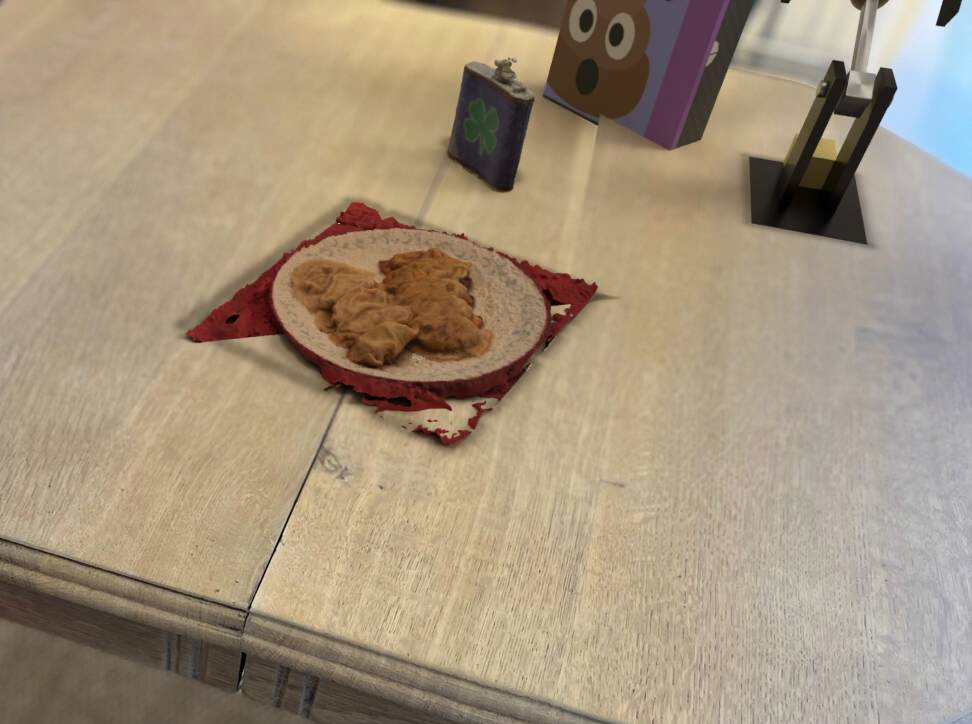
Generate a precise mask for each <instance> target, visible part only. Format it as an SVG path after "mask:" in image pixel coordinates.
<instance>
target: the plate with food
mask: <svg viewBox="0 0 972 724" xmlns="http://www.w3.org/2000/svg"><path fill="white" fill-rule="evenodd" d="M338 223H340V224H338ZM370 230H371V231H370ZM598 288H599V285H597V283H596V281H593V282H592V283H591V284H588V283H587V282H586V281H585V279H584V278H572V277H571V274H569V273H567V272H562V273H561V272H554V273H553V272H551V271H550V270H548V269H543V268H542V267H541V266H540V265H539V264H535V265H534V266H533V265H531V264H530V263H529V261H528V260H527V259H524V260H522V261H521V262H519V261H518V260H517V258H516V257H511V256H510V255H509V254H507V253H506V254H505V253H504V252H502V251H498V250H497V251H496V250H495V249H494V247H492V246H490V247H489V248H488V247H485V246H484V247H483V246H482V247H481V245H480V244H478V243H476V242H475V241H473V242H472V241H470V240H469V237H467V236H465V232H462V233H461V234H460V233H458V234H457V233H452V234H449V233H448V232H447V231H442V232H440V231H438V230H435V229H432V228H429V230H428V229H424V228H416V226H415V225H414V224H413V225H411V226H410V225H408V224H404V223H400V222H399V221H398V220H397V219H396V218H395V217H394V216H389V217H387V218H384V219H382V217H381V214H380V213H379V211H378V210H377V208H376V209H375V208H374V207H369V206H368V205H366V204H365V203H364V202H362V201H361V202H359V201H351V202H350V203H349V205H348V206H347V208H346V210H345V211H342V210H341V211H340V212H339V216H337V217H336V218H335V222H334V223H333V224H331V225H330V226H328V227H326V228H325V229H324V230H323V231H321V232H320V233H319V234H318V235H315V237H314V238H312V239H311V238H309V239H303V240H302V241H301V242H300V243H299V244H298V245H297V247H296V248H295V249H292V250H291V252H290V253H289V252H286V251H285V252H283V254H282V257H281V258H280V259H279V260H277V261H276V262H275V263H274V264H273V265H272V266H271V267H270V268H268V269H266V270H265V271H264V272H262V274H261V275H259V276H258V277H257V279H255V280H254V281H253V282H251V283H247V284H245V286H244V287H241V288H239V289H238V290H237V291H236V292H235V293H234V294H233V296H232V297H231V299H229V300H227V301H225V302H224V303H222V304H221V305H219V306H218V307H217V308H213V309H212V311H211V313H210V314H209V315H208V316H206V317H205V318H204V319H203V321H202V322H201V323H199V324H197V325H196V326H194V327H193V328H191V329H188V330H187V332H184V335H186V336H188V337H191V338H192V339H193V342H197V341H199V342H201V343H210V342H221V341H229V340H239V339H248V338H258V337H259V338H260V337H269V336H278V335H285V336H286V338H287V339H288V340H289V342H290V343H292V344H293V345H294V346H295V347H296V348H297V349H298V351H299V353H300V354H301V355H302V356H304V358H305V359H306V360H307V361H309V362H312V363H314V364H315V365H316V366H318V367H319V369H320V370H321V371H319V373H320V375H321V376H322V377H323V378H324V380H326V381H327V382H329V383H331V385H328V386H326V387H325V388H323V391H325V390H326V389H328V388H333V389H334V388H341V387H342V386H343V384H344V385H346V386H353V387H352V392H356V393H357V394H358V393H364V394H365V393H366V394H365V395H363V396H362V397H361V402H362V403H363V404H366V405H368V406H370V407H372V406H374V405H376V407H377V408H376V411H375V414H378V413H381V412H385V411H388V412H389V411H390V412H404V413H410V412H411V413H413V412H415V413H416V412H421V411H428V410H447V411H449V412H453V407H452V406H451V405H450V404H449V403H448V402H447V401H446V400H447V399H449V398H451V397H453V398H457V399H458V400H465V399H466V398H467V399H468V398H475V397H480V398H484V399H496V400H497V401H498V403H500V402H501V400H502V399H503V398H504V397H505V395H506V394H507V393H508V392H509V391H510V390H511V389H512V388H513V387H514V386H515V384H517V382H518V381H519V380H520V378H521V377H522V376H523V374H524V373H525V372H528V371H529V369H530V368H531V367H533V364H532V363H531V362H529V363H528V364H527V365H526V363H527V362H528V361H529V360H530V359H531V357H532V356H533V354H535V352H536V351H537V350H538V349H539V348H540V347H541V346H542V344H543V343H544V342H545V341H546V342H545V347H544V348H543V349H542V353H545V352H546V351H547V349H548V348H549V347H550V346H551V345H552V344H553V342H554V340H555V339H557V338H558V334H559V332H560V331H561V330H562V329H563V328H564V327H565V326H566V325H567V324H568V323H569V322H570V320H572V319H574V318H576V317H577V316H578V315H579V314H580V312H581V311H582V310H583V309H584V308H585V307H586V306H587V305H588V304H589V302H590V301H591V299H592V298H593V296H594V295H596V292H597V291H598ZM568 305H570V306H569V307H565V309H563V312H564V313H565V314H561V313H560V312H555V313H552V312H551V311H552V307H558V306H568ZM237 315H238V316H239V317H238V318H236V320H235V321H234V322H232V323H226V322H227V320H228V318H230V317H233V316H237ZM571 315H572V316H571ZM552 320H553V321H554V322H552ZM193 333H194V334H193ZM414 354H416V355H417V356H421V357H422V359H420V357H417V358H415V357H414ZM413 357H414V358H413ZM524 366H525V367H524ZM399 397H400V398H402V397H403V398H406V399H407V400H409V401H410V403H411V405H410V406H402V405H401V404H398V405H394V403H390V402H389V400H390V399H395V398H396V399H397V398H399ZM471 402H474V400H471ZM486 404H487V401H486V400H484V401H482V402H480V401H479V402H475V403H472V404H471V407H473V408H474V409H475V410H476V414H475V415H474V416H472V417H469V418H468V419H467V426H469V428H470V429H471V430H474V431H475V429H476V427H477V425H478V422H479V420H480V418H481V416H482V415H483V413H485V412H486V411H493V407H489V408H488V407H487V408H482V406H486ZM380 417H382V418H383V416H382V415H380ZM438 421H439V420H438V419H434V420H432V419H429V418H428V419H427V420H426V422H427V423H433V422H434V423H437V422H438ZM452 423H453V421H451V422H450V425H451V428H452V427H453V424H452ZM412 424H413V422H408V425H412ZM402 427H403V428H405V429H407V427H406V426H405V425H402ZM420 430H421V431H423V434H426V435H430V434H437V435H438V436H439V438H440V441H441V444H443V445H453V446H454V445H455V444H457V442H459V441H461V440H463V439H464V438H465V437H467V435H469V433H471V434H472V431H471V430H469V429H463V430H462V429H457V432H454V433H452V434H451V437H450V438H449V437H448V435H447V434H448V433H450V431H449V430H448V429H447V430H446V429H445V428H444V429H442V428H441V427H437V428H435V430H431V429H430V430H429V427H427V426H426V427H423V424H419V425H418V426H417V427H416V428H414V429H412V430H411V432H419V431H420ZM441 434H443V436H442V435H441ZM458 434H459V435H458Z"/></svg>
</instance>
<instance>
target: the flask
mask: <svg viewBox="0 0 972 724" xmlns="http://www.w3.org/2000/svg"><path fill="white" fill-rule="evenodd" d="M493 62H494V66H495V67H496V68H495V67H492V66H490V65H488V64H486V63H483V62H478V61H471V62H468V63H466V64H465V65H464V66H463V72H462V77H461V79H462V80H461V84H460V89H459V94H458V99H457V105H456V108H455V114H454V119H453V124H452V128H451V132H450V137H449V140H448V145H447V149H446V154H447V155H448V157H449V159H450V160H451V161H452V162H453V163H458V165H460V166H461V167H462V168H463V169H464V170H465V171H466V172H468V173H469V174H472V175H476V176H477V179H479V180H482V181H483V182H484V184H485V185H487V186H488V187H489V188H491V190H493V191H498V192H501V193H504V194H505V193H508V192H511V191H513V190H514V187H515V182H516V177H517V174H518V168H519V165H520V161H521V157H522V153H523V148H524V143H525V140H526V135H527V131H528V126H529V123H530V119H531V114H532V111H533V107H534V103H535V97H536V96H535V94H534V93H533V91H531V90H530V89H528V88H527V85H526V84H525V83H523V82H522V81H518V79H517V77H518V76H517V73H516V71H514V70H512V69H511V67H512V66H513V63H515V64H516V63H517V62H518V60H517V58H513V57H512V58H511V57H508V58H507V59H506V58H503V59H500V60H499V59H495V60H494V61H493ZM516 79H517V80H516Z"/></svg>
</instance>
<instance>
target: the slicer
mask: <svg viewBox="0 0 972 724" xmlns="http://www.w3.org/2000/svg"><path fill="white" fill-rule="evenodd" d="M847 74H848V73H847V70H846V64H845V61H844V60H839V59H837V60H836V59H832V60H831V62H830V65H828V69H827V71H826V73H825V75H824V78H823V79H822V80H820V82H819V84H818V86H817V88H816V91H815V95H814V96H815V97H814V100H813V102H812V105H810V109H809V111H808V113H807V116H806V117H805V120H804V122H803V125H802V127H801V129H800V131H799V133H798V134H799V135H798V137H797V140H796V142H795V144H794V146H793V149H792V151H791V153H790V155H789V157H788V160H787V162H786V164H785V166H784V168H783V162H784V161H779V160H772V159H767V158H761V157H755V156H748V162H749V190H750V192H749V193H750V217H751V219H750V220H751V224H753V225H758V226H764V227H768V228H769V227H770V228H775V229H781V230H784V231H785V230H786V231H790V232H797V233H802V234H807V235H811V236H812V235H813V236H818V237H823V238H828V239H835V240H839V241H840V240H841V241H844V242H845V241H846V242H851V243H855V244H862V245H867V246H868V239H867V234H866V229H865V224H864V217H863V214H862V213H863V212H862V207H861V201H860V196H859V190H858V184H857V179H856V175H855V174H856V172H857V170H858V169H859V166H860V164H861V163H862V161H863V158H864V156H865V154H866V152H867V150H868V148H869V146H870V144H871V142H872V141H873V138H874V136H875V134H876V133H877V130H878V128H879V127H880V124H881V122H882V120H883V118H884V116H885V115H886V112H887V111H888V109H889V108H890V106H891V105H892V103H893V101H894V98H895V95H896V93H897V91H898V84H897V81H896V77H895V74H894V69H893V68H889V67H883V66H880V67H879V68H878V71H877V73H876V78H875V84H874V90H873V96H872V100H871V101H870V103H869V104H868V106H867V107H866V109H865V110H864V112H863V113H862V115H861V116H860V118H855V119H854V120H853V122H852V125H851V127H850V129H849V131H848V133H847V135H846V136H845V139H844V141H843V143H842V145H841V147H840V149H839V151H838V152H837V158H836V160H835V162H834V164H833V166H832V168H831V170H830V172H829V174H828V176H827V178H826V180H825V182H824V184H823V186H822V188H821V190H818V189H813V188H807V187H801V186H799V184H800V182H801V180H802V178H803V176H804V174H805V171H806V169H807V167H808V165H809V163H810V161H811V159H812V156H813V154H814V152H815V150H816V148H817V146H818V144H819V141H820V139H821V138H823V135H824V133H825V131H826V129H827V126H828V124H829V122H830V120H831V118H832V115H834V109H835V107H836V105H837V103H838V101H839V99H840V96H841V94H842V92H843V90H844V88H845V86H846V84H847V81H848V79H847Z"/></svg>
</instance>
